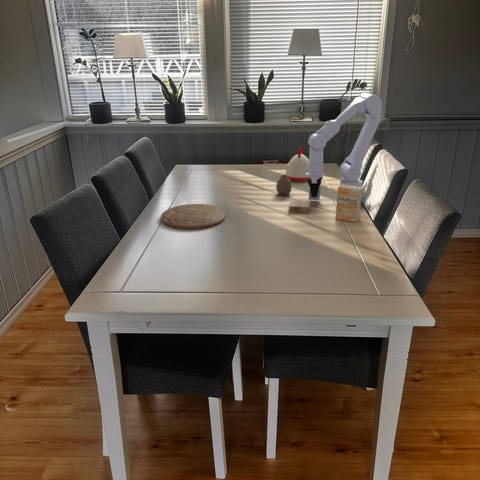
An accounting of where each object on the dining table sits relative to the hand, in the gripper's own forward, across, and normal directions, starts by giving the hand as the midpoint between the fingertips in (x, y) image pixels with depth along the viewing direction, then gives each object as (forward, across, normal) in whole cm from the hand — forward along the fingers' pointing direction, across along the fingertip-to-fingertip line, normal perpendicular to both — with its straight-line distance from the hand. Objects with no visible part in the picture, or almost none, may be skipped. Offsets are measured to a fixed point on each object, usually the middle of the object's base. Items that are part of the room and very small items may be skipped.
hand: (314, 195), depth 191 cm
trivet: (+3, +28, -45) cm, 53 cm away
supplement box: (+3, +19, +14) cm, 24 cm away
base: (+3, +11, -5) cm, 13 cm away
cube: (+2, 0, 0) cm, 2 cm away
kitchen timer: (+3, -37, -10) cm, 38 cm away
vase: (+3, -8, -14) cm, 16 cm away
